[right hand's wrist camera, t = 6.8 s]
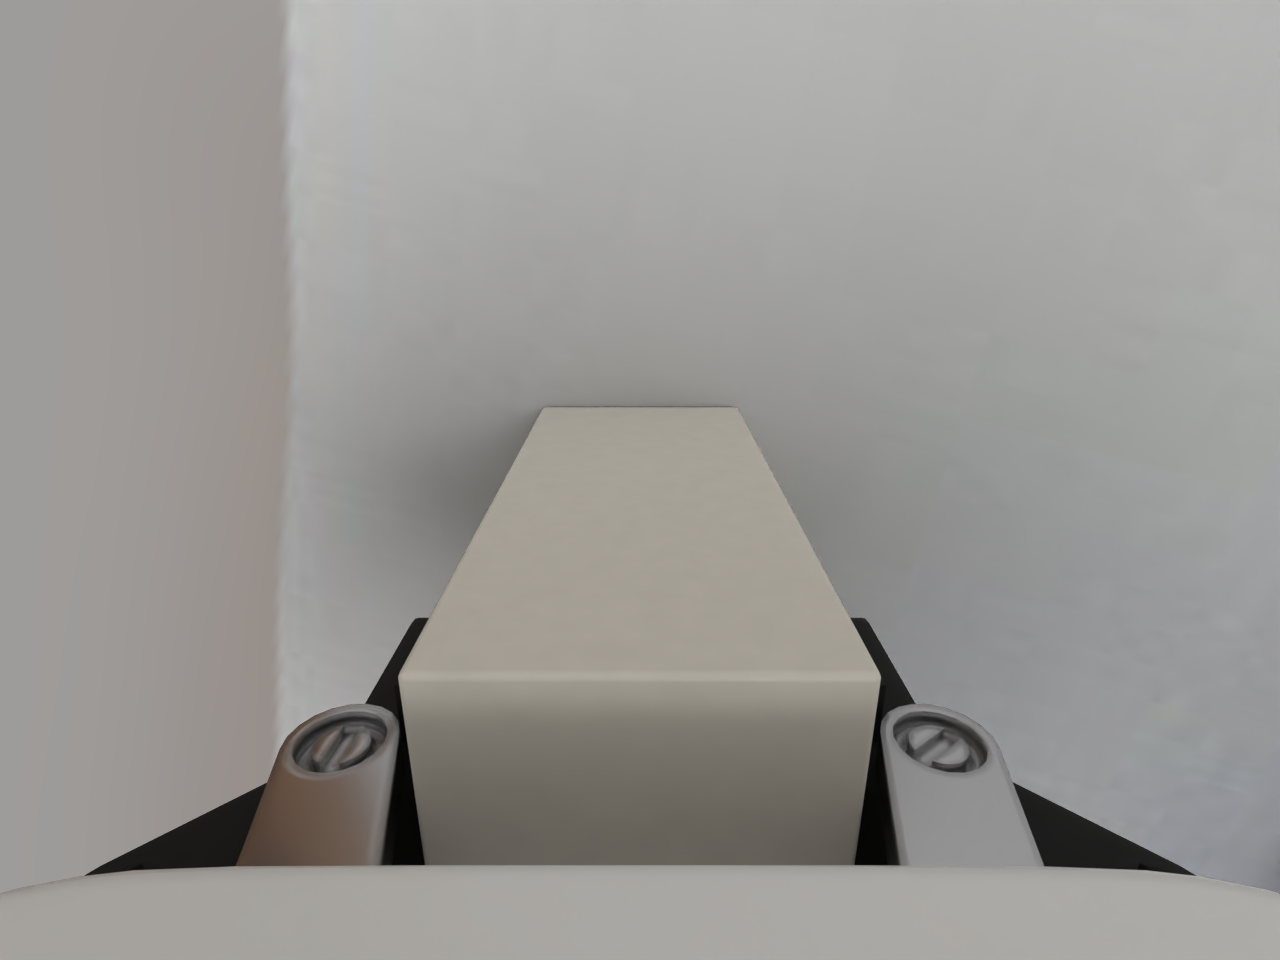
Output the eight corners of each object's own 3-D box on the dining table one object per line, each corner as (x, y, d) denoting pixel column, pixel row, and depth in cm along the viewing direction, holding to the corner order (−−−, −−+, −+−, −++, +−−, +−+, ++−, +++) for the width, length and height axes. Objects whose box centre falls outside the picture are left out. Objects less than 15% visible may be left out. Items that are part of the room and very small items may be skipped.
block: (738, 406, 15) (885, 676, 6) (727, 630, 17) (825, 1089, 8) (541, 406, 15) (393, 675, 6) (553, 630, 17) (453, 1088, 8)
